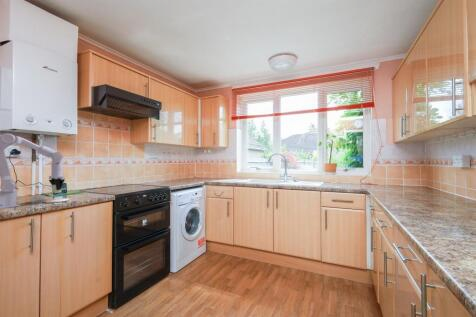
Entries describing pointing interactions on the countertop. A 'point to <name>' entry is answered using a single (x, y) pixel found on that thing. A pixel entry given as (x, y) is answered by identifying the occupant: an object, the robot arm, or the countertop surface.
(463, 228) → the countertop surface
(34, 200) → the grey square block
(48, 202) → the cream round disc
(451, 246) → the countertop surface
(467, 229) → the countertop surface
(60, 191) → the block
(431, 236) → the countertop surface
